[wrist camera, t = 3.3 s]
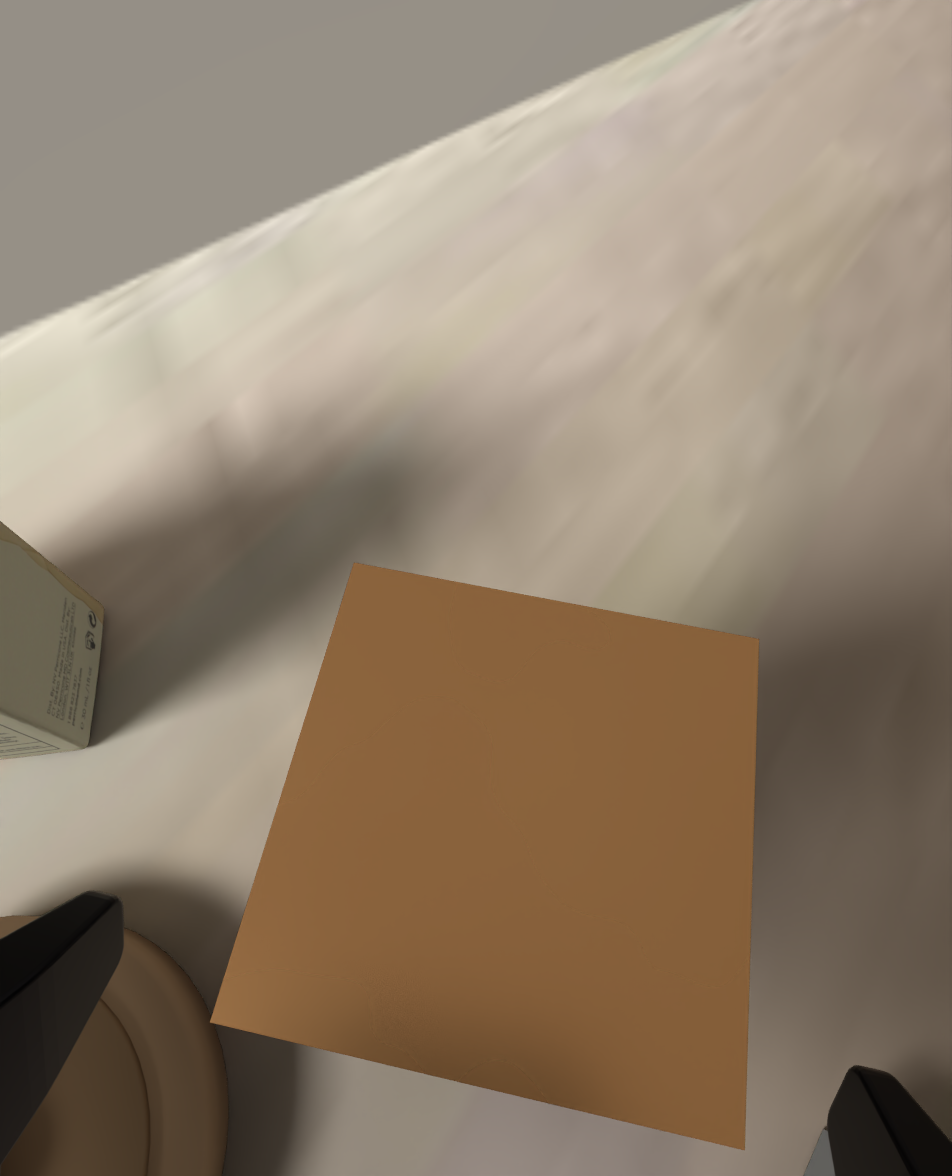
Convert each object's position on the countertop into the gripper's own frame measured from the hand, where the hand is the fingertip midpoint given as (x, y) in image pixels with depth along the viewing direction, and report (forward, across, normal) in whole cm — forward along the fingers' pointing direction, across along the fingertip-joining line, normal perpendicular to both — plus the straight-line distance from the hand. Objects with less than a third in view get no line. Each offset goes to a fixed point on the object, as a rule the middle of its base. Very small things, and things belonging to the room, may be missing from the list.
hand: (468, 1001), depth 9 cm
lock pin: (+8, 0, +5) cm, 9 cm away
